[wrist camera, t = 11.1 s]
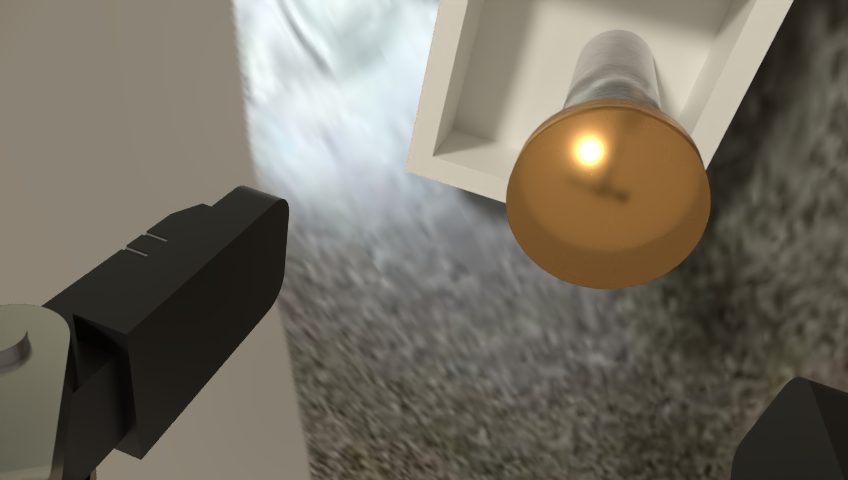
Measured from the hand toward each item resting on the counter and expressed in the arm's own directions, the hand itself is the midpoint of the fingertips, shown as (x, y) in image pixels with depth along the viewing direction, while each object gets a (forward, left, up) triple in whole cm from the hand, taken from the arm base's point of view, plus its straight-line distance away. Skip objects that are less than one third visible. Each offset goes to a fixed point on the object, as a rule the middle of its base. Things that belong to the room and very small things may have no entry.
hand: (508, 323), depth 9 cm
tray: (0, 0, -19) cm, 19 cm away
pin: (0, +1, -18) cm, 18 cm away
